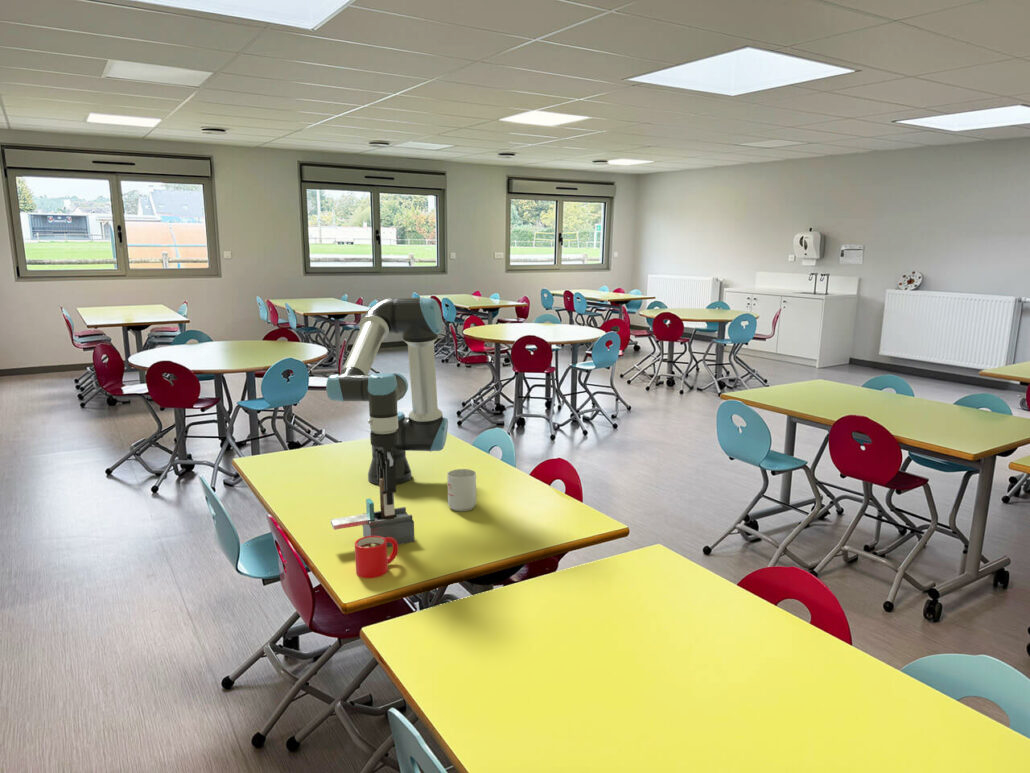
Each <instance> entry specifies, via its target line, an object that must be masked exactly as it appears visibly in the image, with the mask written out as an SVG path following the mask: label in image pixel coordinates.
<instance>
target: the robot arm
mask: <svg viewBox="0 0 1030 773" xmlns="http://www.w3.org/2000/svg"><path fill="white" fill-rule="evenodd" d="M358 327H359V332H358V334H357V336H356V338H355V341H354V343H353V345H352V348H351V350H350V352H349V355H348V356H347V359H346V360H345V363H344V365H343V367H342V369H341V372H340V373H339V374H338V373H336V374H330V375H329V376H328V377H327V379H326V385H325V386H326V387H325V388H326V394H327V397H328V399H329V400H331V401H337V402H368V408H369V409H368V411H369V419H368V420H367V424H370V425H369V428H370V433H369V435H370V445H371V456H372V458H371V463H370V466H369V468H368V473H367V479H368V482H369V483H372V484H374V485H378V487H379V488H380V478H383V479H384V491H383V492H382V494H383V495H384V515H385V516H389V515H395V510H394V509H395V493H397V485H399V484H403V483H406V482H408V481H410V480H411V479H412V470H411V467H410V464H409V462H408V459H407V457H406V456H407V454H406V453H407V451H408V452H409V451H410V452H439V451H442V450H443V449H444V448H445V445H446V442H447V438H448V430H449V421H448V420H449V419H448V418H447V417H445V416H444V415H443V411H442V410H441V409H439V407H438V392H437V391H438V390H437V377H436V359H435V358H436V357H435V342H436V341H437V339H438V338H439V335H440V334H442V332H443V316H442V310H441V307H440V304H439V303H438V301H437V300H436V299H434V298H430V297H429V298H427V297H424V296H423V297H389V298H386V299H383V300H382V299H381V301H378V302H377V303H375V304H373V306H371V307H370V308H369V309H368V310H366V312H365V313H364V315H363V316H362V317H361V319H360V321H359V325H358ZM389 334H390V335H391V334H396V335H397V334H402V335H401V336H402V340H403V342H404V343H406V344H407V351H408V352H407V353H408V354H407V355H408V367H409V378H410V379H409V380H410V392H411V403H412V405H411V406H412V410H411V411H410V412H409V414H408V417H406V416H405V413H404V412H403V411H401V412H400V411H398V401H400V400H402V399H403V398H404V397H405V395H406V394H407V392H408V389H409V382H408V379H407V378H406V377H405V376H404V375H403V374H401V373H397V372H393V373H390V372H376V373H374V374H373V373H372V374H370V371H371V368H372V366H373V364H374V362H375V360H376V356H377V355H378V352H379V349H380V347H381V344H382V342H383V340H385V339H386V338H387V337H388V336H389ZM443 416H444V417H443ZM379 502H380V501H379ZM379 504H380V505H379V506H380V510H381V502H380V503H379Z"/></svg>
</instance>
